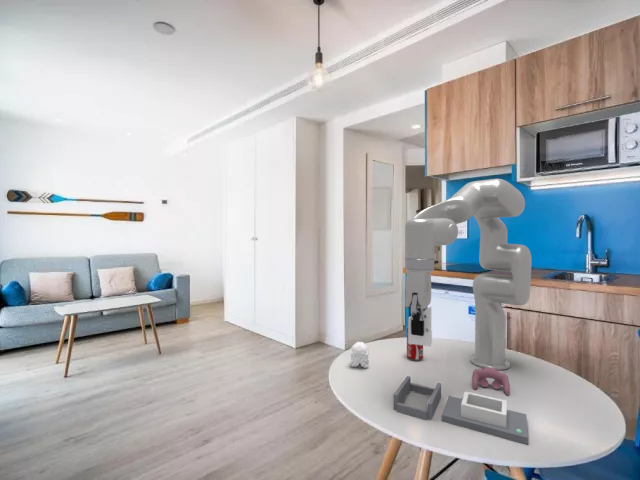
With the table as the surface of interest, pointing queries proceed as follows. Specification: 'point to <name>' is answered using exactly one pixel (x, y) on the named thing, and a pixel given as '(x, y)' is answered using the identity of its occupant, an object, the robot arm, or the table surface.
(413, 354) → the beverage can
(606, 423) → the table surface
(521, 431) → the port block
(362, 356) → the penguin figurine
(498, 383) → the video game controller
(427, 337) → the white angled block
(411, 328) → the robot arm
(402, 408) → the gray rectangular frame
